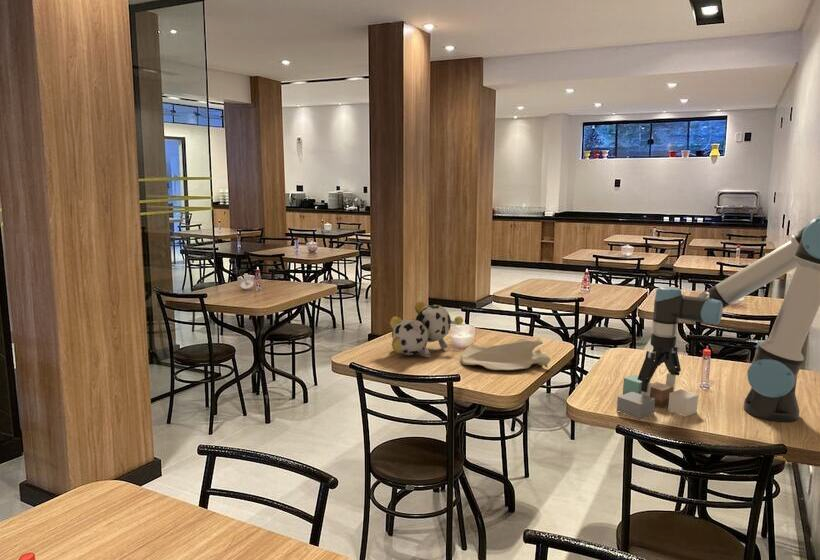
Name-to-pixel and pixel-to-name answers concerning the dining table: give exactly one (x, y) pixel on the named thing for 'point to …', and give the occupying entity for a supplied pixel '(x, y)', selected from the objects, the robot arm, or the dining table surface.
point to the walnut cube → (660, 394)
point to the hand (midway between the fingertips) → (657, 396)
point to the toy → (421, 329)
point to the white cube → (683, 402)
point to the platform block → (635, 405)
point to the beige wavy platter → (506, 355)
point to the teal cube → (632, 385)
